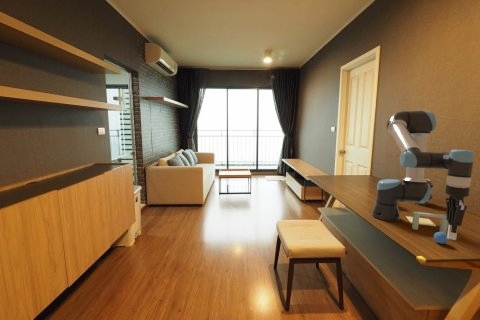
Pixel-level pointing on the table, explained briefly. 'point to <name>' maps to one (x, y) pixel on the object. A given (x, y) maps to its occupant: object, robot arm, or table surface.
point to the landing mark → (422, 221)
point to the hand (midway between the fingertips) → (451, 238)
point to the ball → (441, 237)
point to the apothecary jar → (430, 195)
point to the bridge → (443, 217)
